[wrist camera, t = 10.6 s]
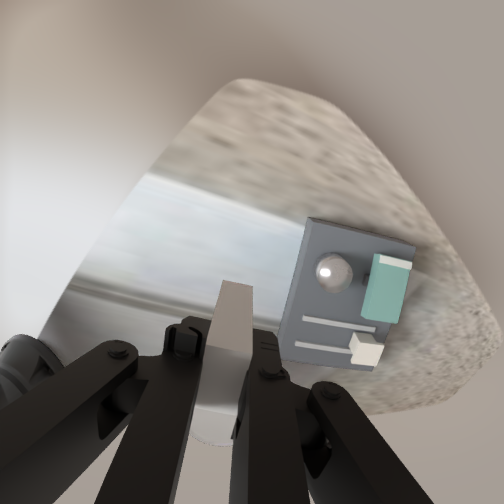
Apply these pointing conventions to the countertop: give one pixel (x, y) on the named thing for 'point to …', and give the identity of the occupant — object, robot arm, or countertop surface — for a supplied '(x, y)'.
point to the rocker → (386, 288)
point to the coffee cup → (212, 427)
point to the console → (333, 296)
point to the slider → (365, 349)
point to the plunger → (332, 272)
